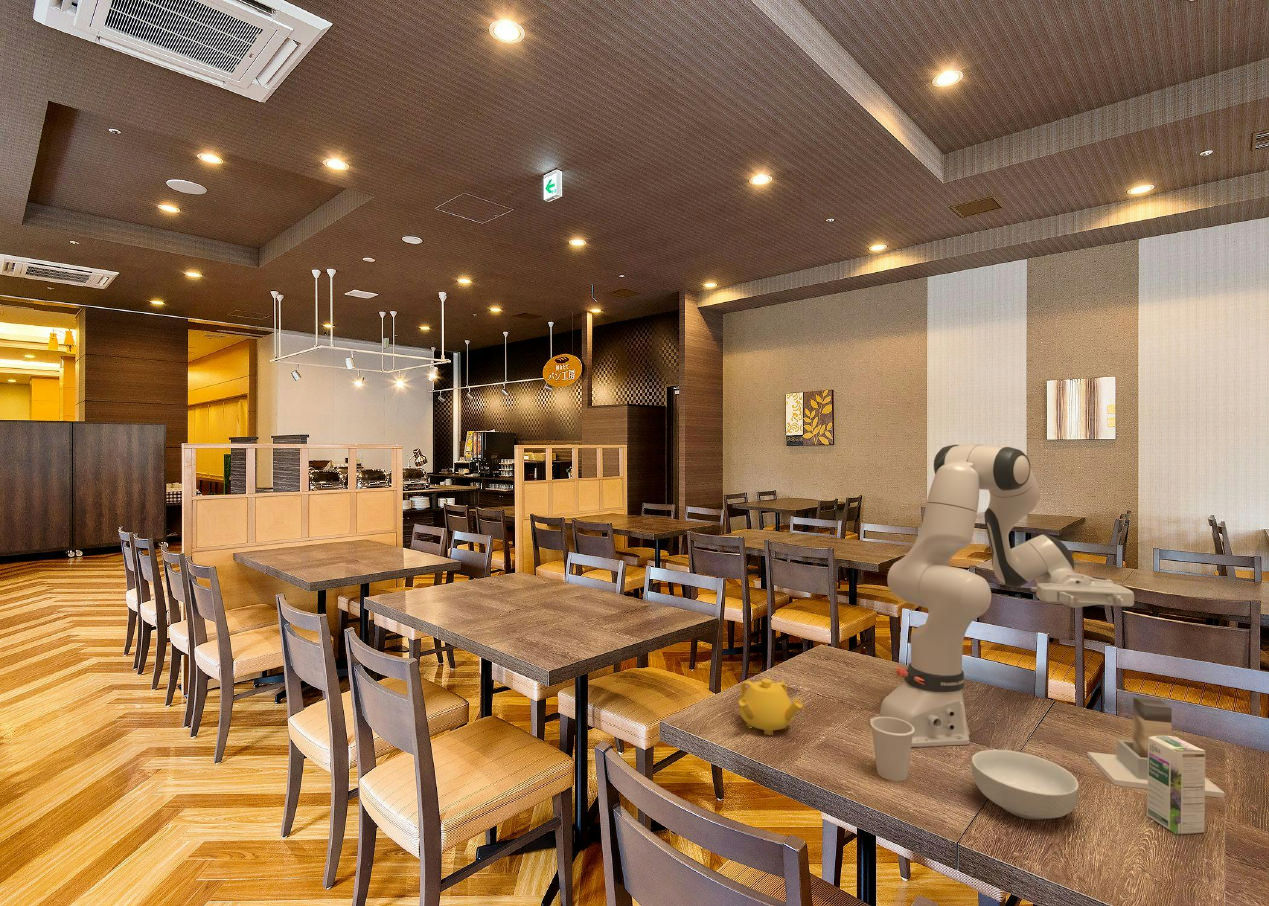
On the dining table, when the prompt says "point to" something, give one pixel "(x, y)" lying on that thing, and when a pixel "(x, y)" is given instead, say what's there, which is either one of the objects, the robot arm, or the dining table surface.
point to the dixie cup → (892, 747)
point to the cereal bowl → (1025, 784)
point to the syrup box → (1176, 784)
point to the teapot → (767, 705)
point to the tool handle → (1149, 722)
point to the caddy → (1133, 768)
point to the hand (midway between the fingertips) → (1097, 601)
